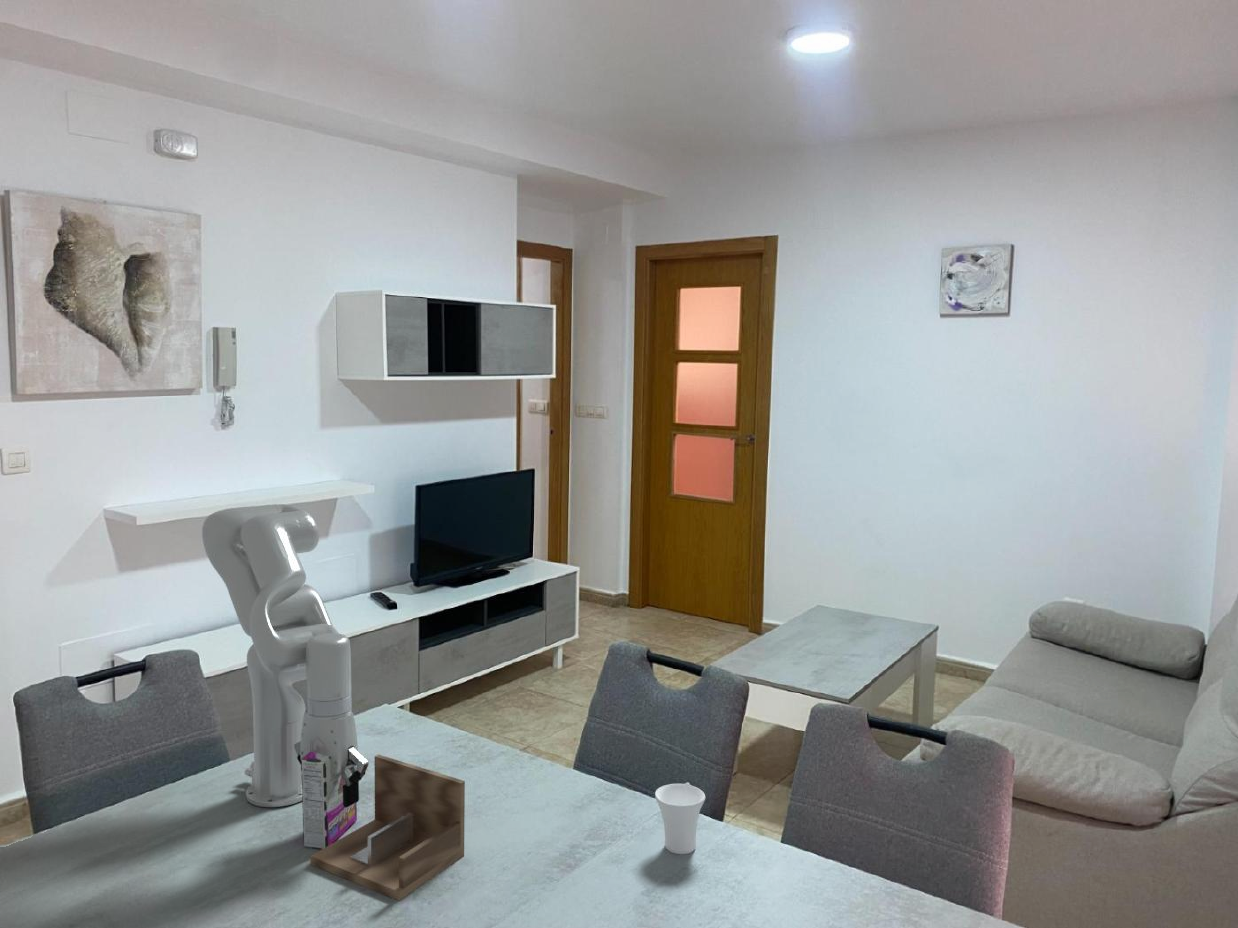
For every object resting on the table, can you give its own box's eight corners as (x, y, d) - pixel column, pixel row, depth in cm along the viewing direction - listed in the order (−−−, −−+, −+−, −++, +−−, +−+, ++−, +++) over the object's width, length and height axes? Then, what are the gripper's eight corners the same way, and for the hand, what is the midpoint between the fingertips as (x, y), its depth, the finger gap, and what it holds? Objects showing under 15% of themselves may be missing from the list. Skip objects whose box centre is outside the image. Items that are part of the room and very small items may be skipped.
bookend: (350, 858, 156) (350, 830, 155) (392, 833, 164) (392, 806, 164) (371, 866, 153) (371, 837, 153) (412, 840, 162) (412, 813, 161)
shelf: (310, 864, 156) (309, 787, 155) (378, 824, 170) (378, 754, 169) (399, 900, 146) (399, 819, 145) (464, 855, 160) (464, 780, 159)
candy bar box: (332, 817, 173) (332, 732, 171) (357, 820, 172) (357, 735, 170) (300, 847, 162) (299, 757, 160) (327, 851, 161) (326, 760, 159)
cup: (710, 839, 168) (712, 787, 167) (692, 864, 159) (694, 808, 158) (665, 828, 171) (667, 776, 170) (645, 851, 163) (647, 797, 162)
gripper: (278, 702, 165) (281, 794, 166) (348, 720, 156) (350, 817, 158) (311, 690, 171) (313, 779, 173) (380, 706, 163) (382, 800, 164)
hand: (331, 797), depth 165 cm, fingers open, 9 cm apart
